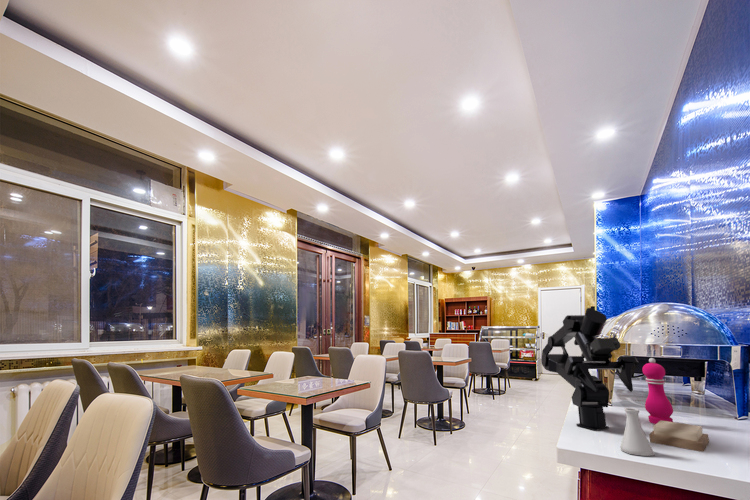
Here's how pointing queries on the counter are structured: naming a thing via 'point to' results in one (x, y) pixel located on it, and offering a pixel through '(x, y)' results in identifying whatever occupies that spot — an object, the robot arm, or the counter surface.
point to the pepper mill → (656, 393)
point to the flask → (635, 435)
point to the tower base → (680, 442)
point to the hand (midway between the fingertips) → (614, 390)
